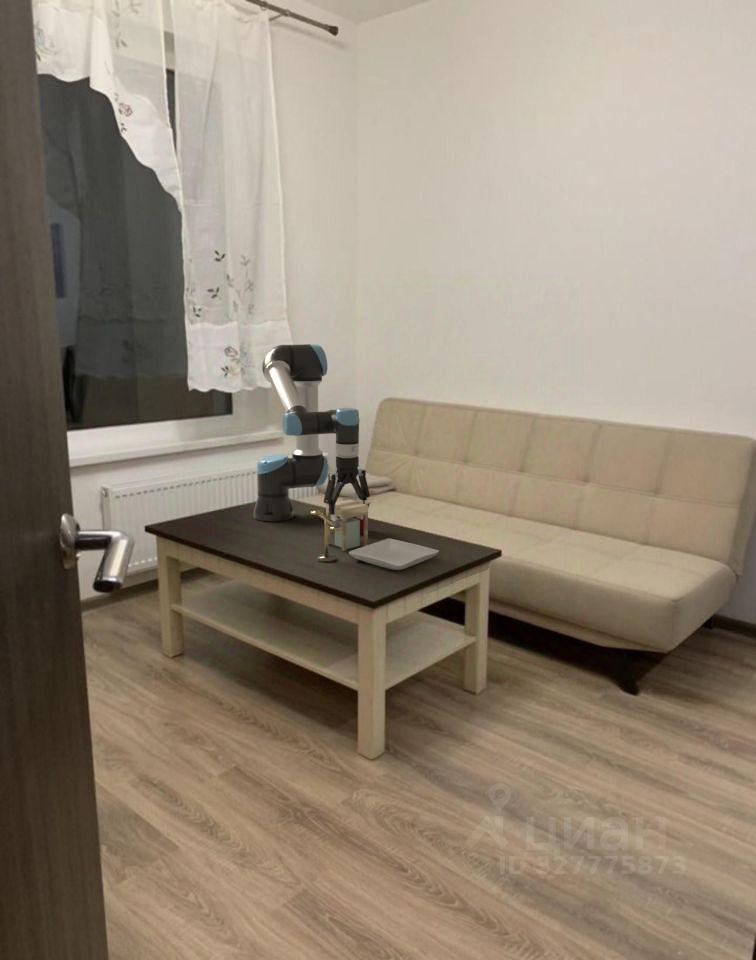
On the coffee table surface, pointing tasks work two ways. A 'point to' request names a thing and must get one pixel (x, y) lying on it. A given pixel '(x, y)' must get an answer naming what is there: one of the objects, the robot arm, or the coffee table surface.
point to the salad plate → (393, 554)
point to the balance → (336, 527)
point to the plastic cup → (356, 516)
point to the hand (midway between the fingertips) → (347, 520)
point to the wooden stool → (346, 511)
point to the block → (349, 533)
